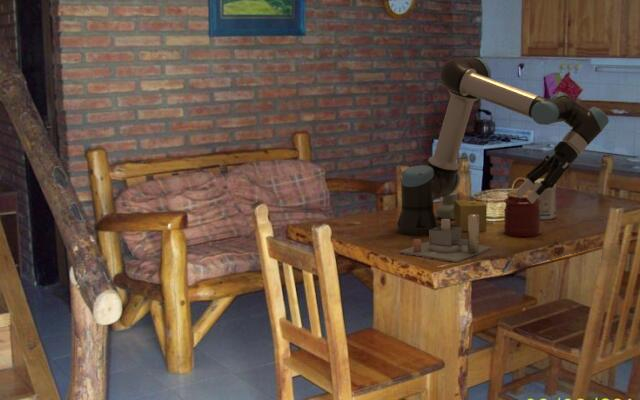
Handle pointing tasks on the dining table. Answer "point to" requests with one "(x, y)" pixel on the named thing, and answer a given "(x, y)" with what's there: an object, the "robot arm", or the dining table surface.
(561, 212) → the dining table surface
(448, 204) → the air freshener
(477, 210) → the olive yellow box
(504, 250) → the dining table surface
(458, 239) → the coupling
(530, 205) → the canister
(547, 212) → the supplement tub
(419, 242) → the square plate with uprights
